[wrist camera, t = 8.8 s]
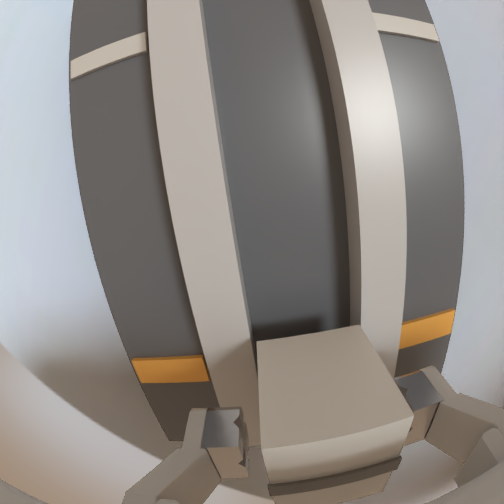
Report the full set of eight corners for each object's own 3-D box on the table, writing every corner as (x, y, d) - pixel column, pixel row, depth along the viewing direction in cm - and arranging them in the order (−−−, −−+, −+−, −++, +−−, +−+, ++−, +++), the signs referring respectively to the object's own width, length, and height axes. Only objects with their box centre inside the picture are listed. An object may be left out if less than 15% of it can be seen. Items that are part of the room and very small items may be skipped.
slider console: (385, -30, 8) (411, -61, 4) (418, 375, 14) (442, 411, 11) (95, 0, 8) (63, -29, 5) (175, 414, 14) (165, 457, 11)
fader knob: (348, 305, 10) (417, 417, 5) (345, 388, 11) (384, 493, 6) (254, 320, 10) (258, 452, 5) (267, 401, 11) (275, 515, 6)
